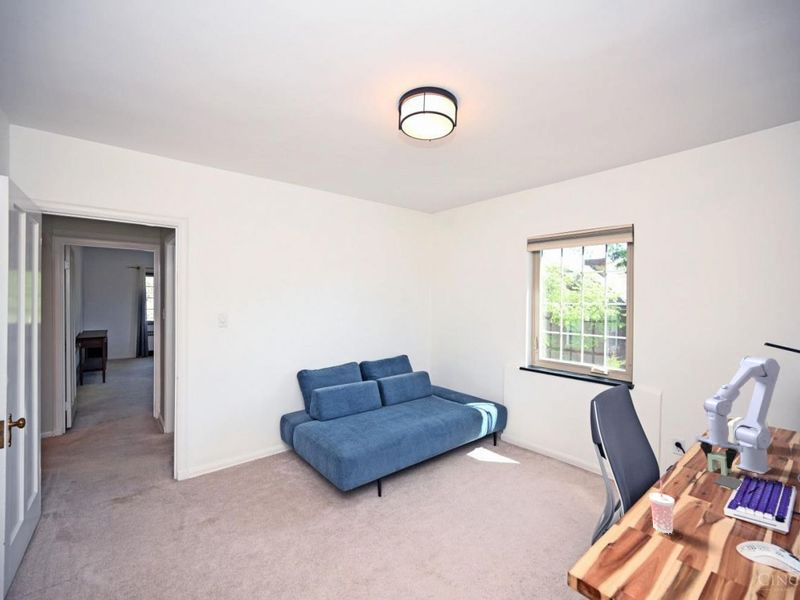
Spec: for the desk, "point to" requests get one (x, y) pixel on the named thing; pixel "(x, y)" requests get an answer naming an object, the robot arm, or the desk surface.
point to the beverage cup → (662, 511)
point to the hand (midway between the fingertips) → (719, 465)
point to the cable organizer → (733, 425)
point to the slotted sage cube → (713, 462)
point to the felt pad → (728, 482)
